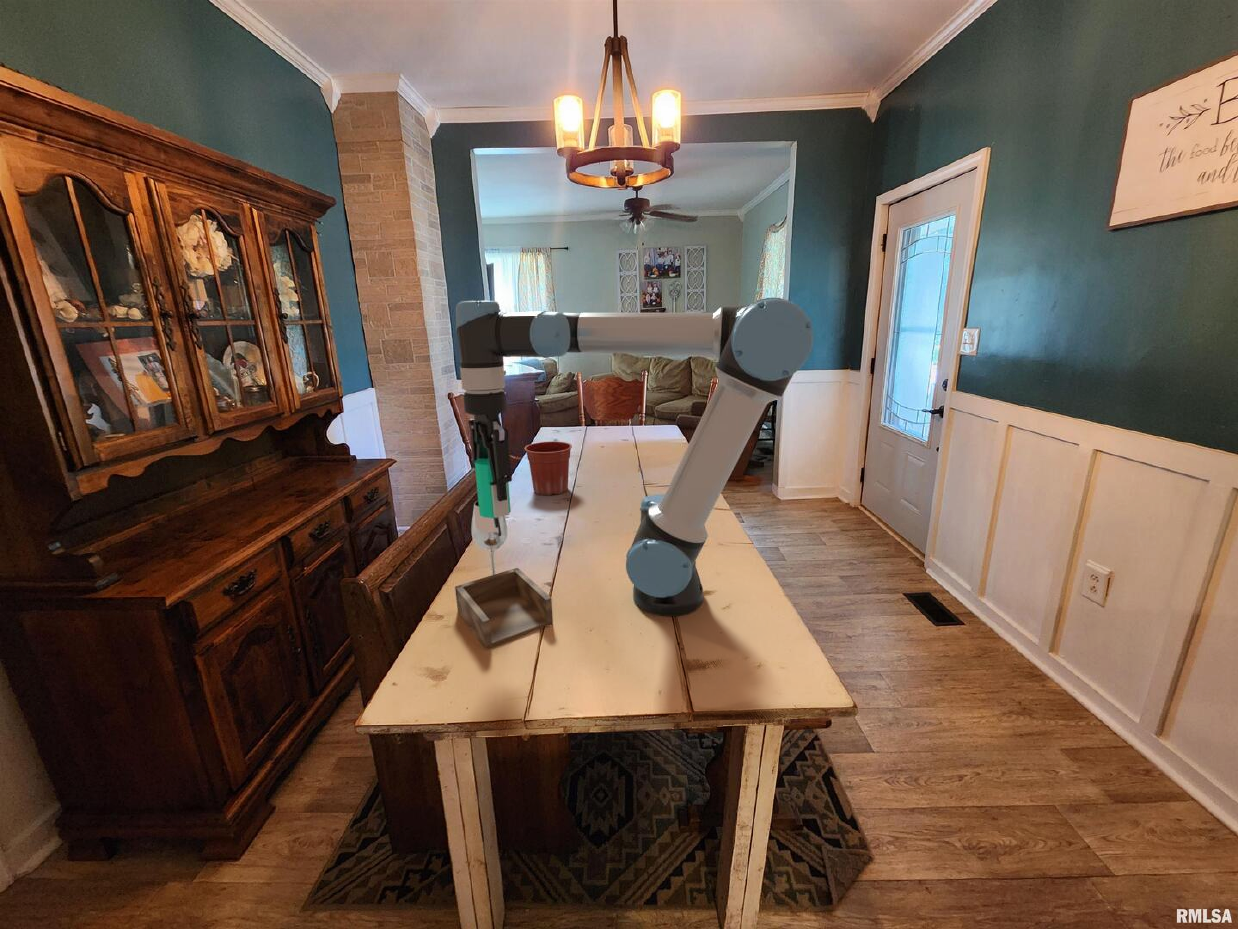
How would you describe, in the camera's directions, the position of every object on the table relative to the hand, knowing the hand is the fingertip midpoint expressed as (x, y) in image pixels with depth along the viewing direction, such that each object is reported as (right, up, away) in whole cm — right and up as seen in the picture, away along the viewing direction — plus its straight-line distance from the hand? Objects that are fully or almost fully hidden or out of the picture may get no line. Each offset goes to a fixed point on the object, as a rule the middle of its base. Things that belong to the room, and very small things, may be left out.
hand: (494, 510), depth 99 cm
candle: (0, -1, 0) cm, 1 cm away
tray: (0, -23, +6) cm, 23 cm away
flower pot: (0, -1, +85) cm, 85 cm away
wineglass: (-5, -19, +20) cm, 28 cm away
